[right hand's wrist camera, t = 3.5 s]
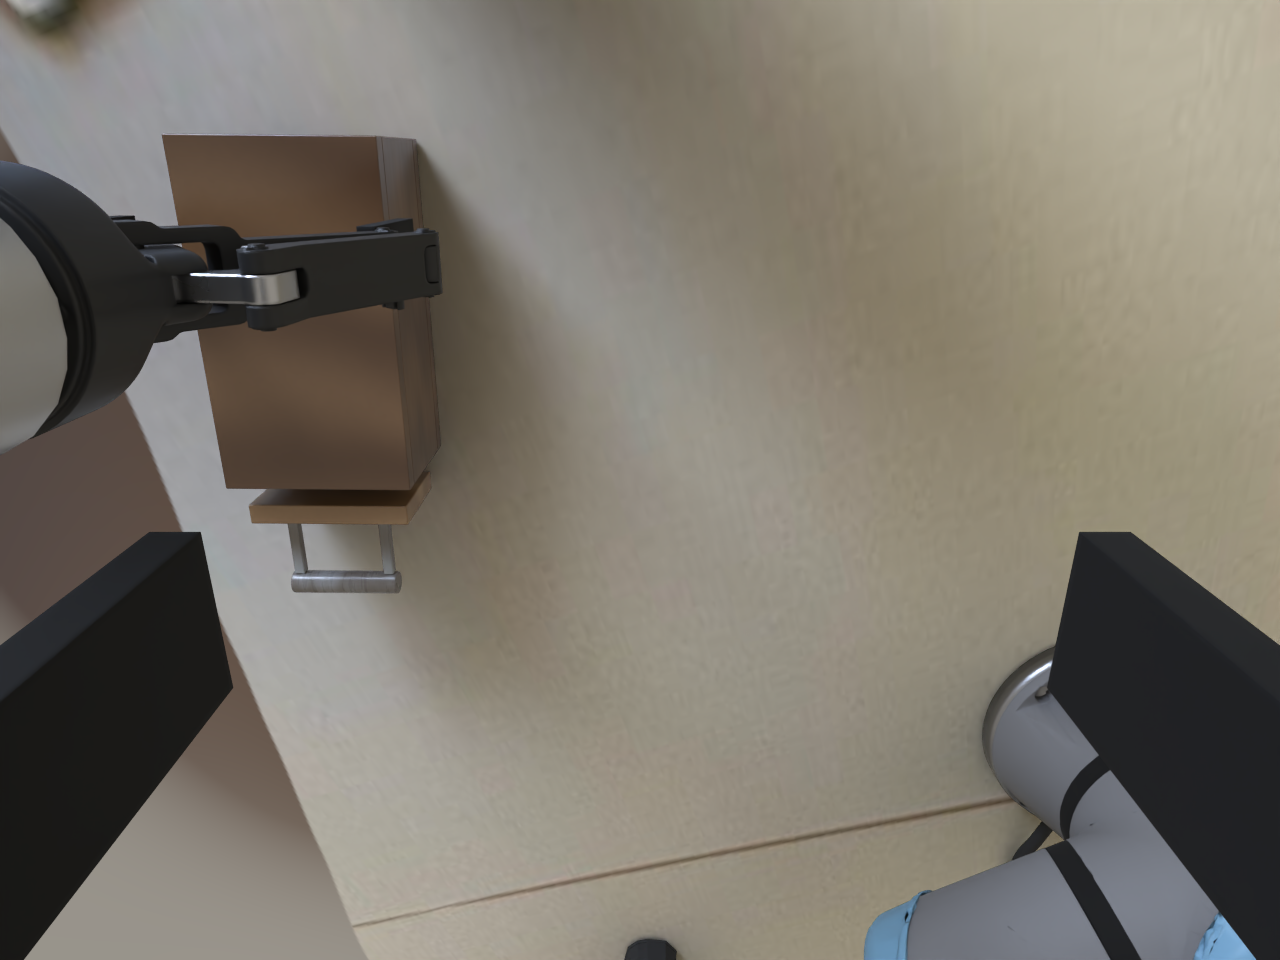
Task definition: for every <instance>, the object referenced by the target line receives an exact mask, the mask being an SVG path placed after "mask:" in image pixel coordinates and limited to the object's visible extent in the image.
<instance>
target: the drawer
mask: <svg viewBox="0 0 1280 960" xmlns="http://www.w3.org/2000/svg"><path fill="white" fill-rule="evenodd" d="M430 489H431V477H430V472H429V471H423V472H422V474H421V475H420V476H419V478H418V479H417V481H416V482H415V484H414V485H413V487H412V488H411V490H337V489H267V490H265V491H264V492H263V493H262V494H261V495H260V496H259V497H258V498H256V499H255V500H254V501H253V502H252V503H251V504H250V505H249V509H250V515H251V521H252V523H287V524H288V528H289V535H290V541H291V548H292V554H293V560H294V567H295V572H294V573H293V575H292V580H291V585H292V590H293V591H294V592H311V593H399V592H400V589H401V585H402V577H401V573H400V572H399V571H395V570H396V568H395V558H394V549H393V540H392V531H391V524H398V525H407V524H409V522H410V521H411V519H412V518H413V516H414V514H415V513H416V511H417V510H418V508H419V506H420V505H421V503H422V502H423V500H424V499H425V497H426V495H427V494H428V492H429V491H430ZM301 524H378V526H379V534H380V543H381V552H382V561H383V570H384V571H326V570H308V566H307V559H306V552H305V546H304V539H303V533H302V526H301Z"/></svg>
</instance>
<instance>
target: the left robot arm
mask: <svg viewBox="0 0 1280 960" xmlns="http://www.w3.org/2000/svg"><path fill="white" fill-rule="evenodd" d="M356 230H357V232H341V233H321V234H302V235H282V236H263V237H243V238H241V237H240V236H239V234H238V233H237V232H236V231H235V230H234V229H232V228H231V227H226V226H218V225H184V226H156V225H155V224H153V223H151V222H146V221H137V220H135V216H108V215H107V214H106V213H105V212H104V211H103V210H102V209H101V208H100V207H99V206H98V205H97V204H96V203H94V202H93V201H92V200H91V199H90V198H88V197H87V196H86V195H84V194H83V193H82V192H80V191H79V190H77V189H76V188H74V187H73V186H71V185H69V184H68V183H66V182H64V181H62V180H61V179H59V178H57V177H55V176H53V175H50V174H48V173H46V172H43V171H41V170H38V169H35V168H32V167H29V166H25V165H22V164H17V163H13V162H7V161H0V455H1V454H4V453H6V452H7V451H9V450H11V449H12V448H14V447H16V446H17V445H19V444H21V443H22V442H24V441H26V440H28V439H31V438H34V437H36V436H39V435H41V434H43V433H45V432H48V431H50V430H52V429H54V428H57V427H59V426H61V425H63V424H66V423H68V422H70V421H73V420H75V419H77V418H79V417H82V416H84V415H86V414H88V413H91V412H93V411H95V410H97V409H99V408H101V407H103V406H105V405H107V404H108V403H110V402H111V401H113V400H114V399H116V398H117V397H118V396H119V395H121V394H122V393H123V392H124V391H125V390H126V389H127V388H128V387H129V386H130V385H131V383H132V382H133V381H134V380H135V378H136V377H137V375H138V374H139V372H140V371H141V369H142V367H143V365H144V363H145V361H146V359H147V356H148V354H149V352H150V350H151V347H152V345H153V343H158V342H165V341H169V340H172V339H174V338H175V337H176V336H177V335H178V334H179V333H181V332H185V331H192V330H200V329H208V328H216V327H224V326H232V325H239V324H243V323H245V322H246V321H247V323H248V327H249V328H252V329H254V330H260V331H264V332H268V331H276V330H277V328H280V327H285V326H288V325H291V324H294V323H297V322H300V321H303V320H306V319H308V318H312V317H318V316H323V315H328V314H334V313H339V312H344V311H350V310H355V309H361V308H366V307H371V306H377V305H382V307H386V308H389V309H397V310H403V309H405V303H404V300H409V299H415V298H420V297H434V295H439V294H441V293H442V278H441V264H440V250H439V236H438V232H435V230H429V229H428V228H418V229H417V230H416V231H414V227H413V218H396V219H391V220H386V221H381V222H376V223H371V224H366V225H361V226H356ZM198 242H201V243H202V244H203V246H204V248H205V253H206V259H207V265H208V268H207V265H206V263H205V261H204V260H203V259H202V258H201V257H200V256H199V255H197V254H196V253H194V252H191V251H189V250H187V249H184V248H182V247H179V246H177V245H173V244H179V243H198Z"/></svg>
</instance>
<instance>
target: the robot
mask: <svg viewBox="0 0 1280 960" xmlns="http://www.w3.org/2000/svg"><path fill="white" fill-rule="evenodd" d="M676 953H677V951H676V950H675V949H674V948H673V947H672V946H671V945H670V944H669V943H668V942H666V941H661V940H649V939H645V940H640V941H637V942H635V943H634V944H632V945H631V946H629V947H628V949H627V953H626V956H625V959H624V960H676Z"/></svg>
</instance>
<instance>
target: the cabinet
mask: <svg viewBox="0 0 1280 960" xmlns="http://www.w3.org/2000/svg"><path fill="white" fill-rule="evenodd" d="M162 138H163V144H164V149H165V154H166V160H167V165H168V171H169V176H170V182H171V187H172V193H173V198H174V204H175V209H176V215H177V220H178V226H184V225H218V226H226V227H231V228H232V229H234V230H235V231H236V232H237V233H238V234H239V236H240V237H241V238H243V237H263V236H282V235H302V234H321V233H341V232H357V230H356V226H361V225H366V224H371V223H376V222H381V221H386V220H391V219H396V218H413V227H414V231H416V230H417V229H418V228H423V218H422V205H421V193H420V181H419V168H418V156H417V144H416V139H406V138H395V137H383V136H345V135H249V134H162ZM182 248H184V249H187V250H189V251H191V252H194V253H196V254H197V255H199V256H200V257H201V258H202V259H203V260H204V261H205V263H206V265H207V259H206V253H205V248H204V246H203V244H202V243H201V242H198V243H182ZM207 268H208V265H207ZM404 303H405V309H403V310H397V309H389V308H386V307H382V305H377V306H371V307H366V308H361V309H355V310H350V311H344V312H339V313H334V314H328V315H323V316H318V317H312V318H308V319H306V320H303V321H300V322H297V323H294V324H291V325H288V326H285V327H280V328H277V330H276V331H268V332H264V331H260V330H254V329H252V328H249V327H248V323H247V321H246V322H245V323H243V324H239V325H232V326H224V327H216V328H208V329H200V330H198V335H199V341H200V346H201V352H202V357H203V363H204V368H205V373H206V379H207V384H208V390H209V395H210V401H211V406H212V412H213V417H214V423H215V428H216V434H217V439H218V445H219V450H220V456H221V461H222V467H223V472H224V477H225V483H226V488H227V489H337V490H411V488H412V487H413V485H414V484H415V482H416V481H417V479H418V478H419V476H420V475H421V474H422V472H423V471H424V469H425V468H426V466H427V465H428V464H429V462H430V461H431V459H432V458H433V456H434V455H435V453H436V452H437V450H438V449H439V448H440V446H441V440H440V428H439V415H438V403H437V391H436V378H435V366H434V354H433V341H432V329H431V317H430V304H429V297H420V298H415V299H409V300H404Z"/></svg>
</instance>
